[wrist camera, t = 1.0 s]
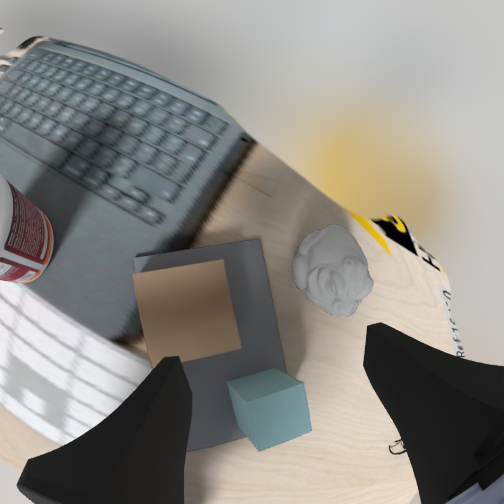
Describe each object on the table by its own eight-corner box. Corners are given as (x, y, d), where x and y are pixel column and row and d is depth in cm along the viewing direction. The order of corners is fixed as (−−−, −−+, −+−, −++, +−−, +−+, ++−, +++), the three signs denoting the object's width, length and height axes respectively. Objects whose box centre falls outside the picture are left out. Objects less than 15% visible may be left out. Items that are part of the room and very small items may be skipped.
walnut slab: (230, 342, 20) (241, 348, 18) (153, 358, 18) (152, 367, 16) (214, 265, 21) (223, 259, 18) (136, 278, 19) (132, 274, 16)
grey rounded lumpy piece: (272, 313, 22) (318, 315, 16) (278, 230, 24) (322, 203, 17) (333, 316, 24) (388, 317, 18) (336, 241, 26) (388, 222, 19)
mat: (293, 417, 21) (295, 419, 21) (182, 450, 18) (183, 452, 17) (257, 239, 23) (259, 238, 23) (133, 258, 20) (133, 258, 19)
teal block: (282, 409, 21) (312, 430, 16) (237, 424, 19) (258, 451, 15) (273, 367, 21) (303, 382, 16) (226, 381, 20) (246, 402, 15)
